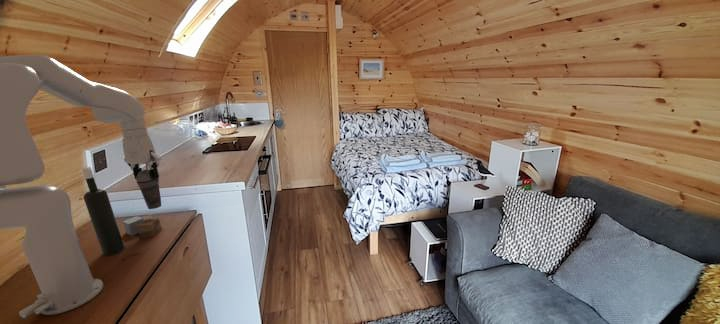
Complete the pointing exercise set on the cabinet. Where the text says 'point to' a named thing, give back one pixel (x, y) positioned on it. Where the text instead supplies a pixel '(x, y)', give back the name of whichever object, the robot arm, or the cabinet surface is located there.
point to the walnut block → (149, 227)
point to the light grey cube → (132, 225)
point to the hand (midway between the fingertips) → (147, 178)
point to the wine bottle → (102, 216)
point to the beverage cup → (149, 189)
